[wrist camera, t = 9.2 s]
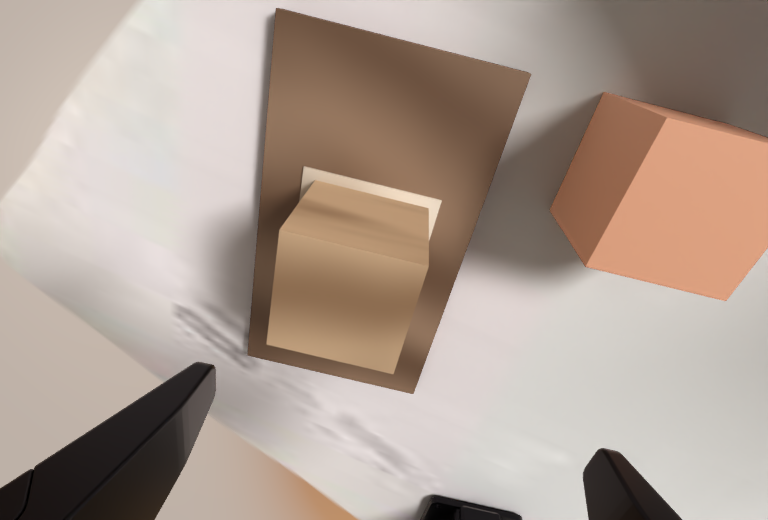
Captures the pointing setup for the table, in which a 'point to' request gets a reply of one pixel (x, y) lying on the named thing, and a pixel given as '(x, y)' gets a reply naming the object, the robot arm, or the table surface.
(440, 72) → the brown flat panel
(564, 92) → the table surface
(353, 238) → the oak cube
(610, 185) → the terracotta cube
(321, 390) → the table surface
